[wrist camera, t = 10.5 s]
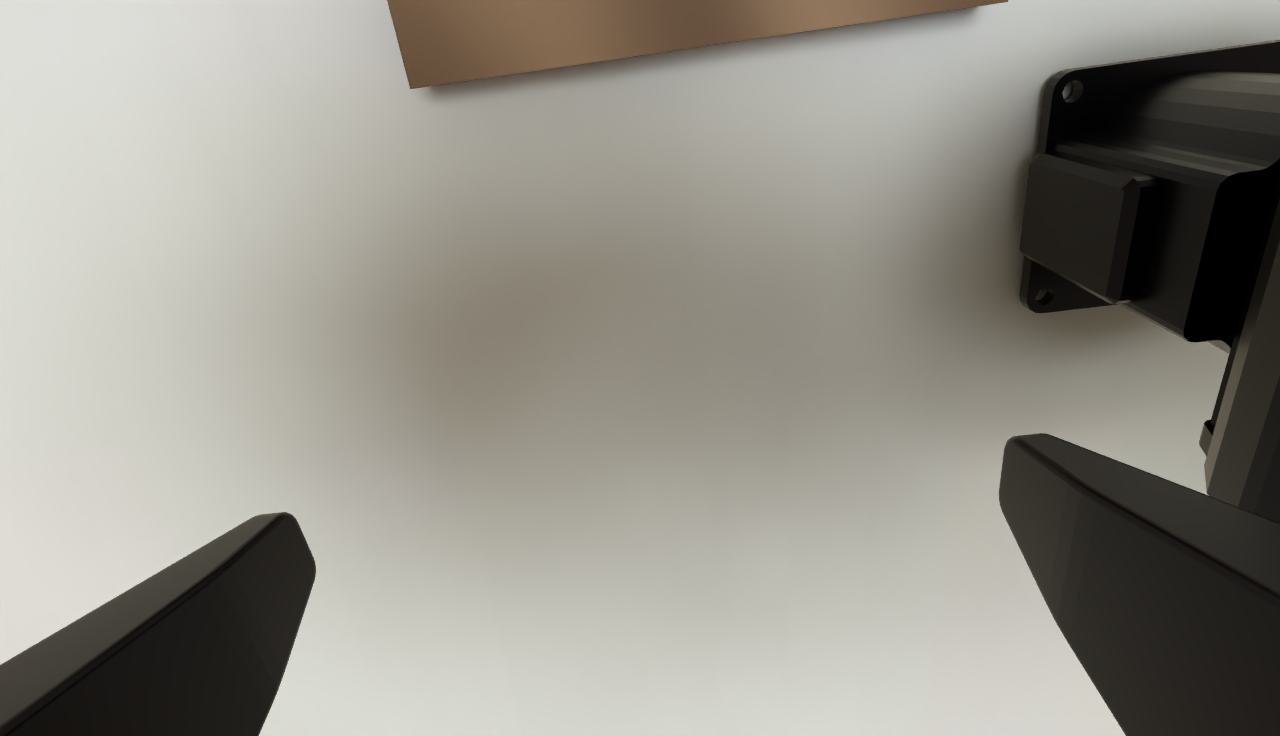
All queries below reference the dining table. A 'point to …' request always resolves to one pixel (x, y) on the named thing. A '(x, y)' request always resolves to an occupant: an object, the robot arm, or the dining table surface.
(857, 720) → the dining table surface
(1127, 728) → the robot arm
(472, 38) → the brown piece
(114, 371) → the dining table surface
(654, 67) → the dining table surface
